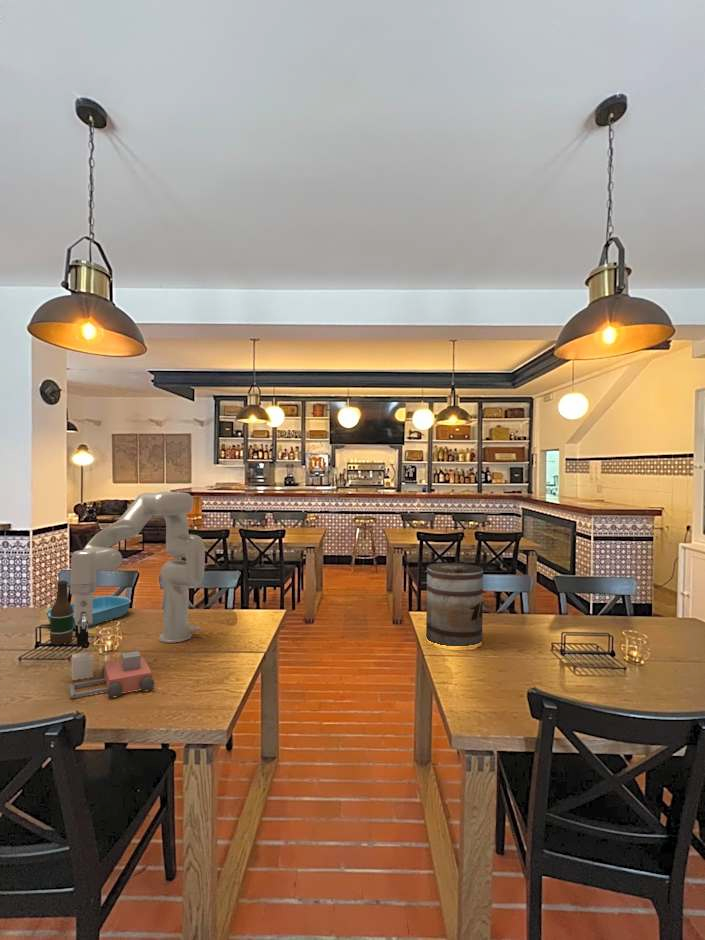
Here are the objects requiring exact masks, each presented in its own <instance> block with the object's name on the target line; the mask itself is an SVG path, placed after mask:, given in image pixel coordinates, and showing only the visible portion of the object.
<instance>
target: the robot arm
mask: <svg viewBox="0 0 705 940" xmlns="http://www.w3.org/2000/svg"><path fill="white" fill-rule="evenodd" d="M194 504H195V501H194V498H193V496H192V495H191V494H190V493H188V492H182V491H160V492H143V493H141V494H139V495H137V497H136V498H135V499H134V500H133V502H132V503H131V504H130V505H129V506H128V508H127V509H126V510H125V512H124V513H123V514H122V515H121V517H119V519H117V520H116V521H115V522H113V523H111V524H109V525H107V526H106V527H105V528H103V529H102V530H100V531H98V532H97V533H96V534H95V535H94V536H93V537H92V538H91V539H90V540H89V541H88V542H87V544H86V545H85V546H84V547H83V549H82V550H76V551H75V550H74V552H72V553H71V558H70V559H71V562H70V587H69V593H70V595H73V603H74V618H75V624H76V625H75V630H74V631H75V632H74V633H75V634H74V636H75V638H76V645H77V646H85V645H88V644H89V627H88V623H90V624H92V611H93V598H94V596H93V594H95V593H96V592H97V591H96V590H97V572H98V571H111V570H115V569H117V568H118V567H119V566H120V565H121V563H122V560H123V556H122V553H121V552H120V551H119V550H117V549H116V548H112V546H113V545H115V544H116V543H119V542H122V541H125V540H128V539H131V538H133V537H136V536H137V535H139V534H140V532H141V531H142V529H143V528H144V527H145V526H146V525H147V523H148V522H149V520H151V518H153V516H155V517H157V516H158V517H163V518H164V520H165V525H166V526H165V527H166V529H165V531H166V534H165V550H166V553H167V555H168V556H171V557H174V558H182V559H185V560H181V559H180V560H179V559H172V560H168V561H167V562H165V563H164V564H163V565H162V567H161V571H160V573H161V574H160V575H161V580H162V586H163V606H162V607H163V615H162V616H163V617H162V618H163V619H162V621H163V622H162V624H163V625H162V633H161V634H159V636H158V640H159V641H160V642H161V643H166V644H167V643H169V644H175V643H176V642H177V643H182V641H183V642H186V641H188V640H190V639H191V638H192V636H193V635H192V633H193V632H200V631H201V626H195V625H193V626H192V625H190V626H189V591H188V587H196V586H199V585H200V584H201V583H202V582H203V579H204V577H205V567H206V566H205V565H206V563H205V561H206V559H205V558H206V546H205V542H204V540H203V538H202V537H201V536H199V535H197V534H189V521H188V520H189V519H188V517H187V514H189V513H191V511H192V509H193V508H194ZM187 586H188V587H187ZM187 639H188V640H187ZM185 640H186V641H185Z"/></svg>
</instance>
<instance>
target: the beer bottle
mask: <svg viewBox="0 0 705 940" xmlns="http://www.w3.org/2000/svg"><path fill="white" fill-rule="evenodd" d="M56 585H57V588H56V589H57V590H56V599H55V602H54V604H53V605H52V607H51V608H50V609H51V615H50V622H49V641H50V642H51V643H52V644H64V643H68V642H70V641H71V642H72V641H73V636H74V634H73V631H74V630H73V608H72V606H71V603H70V601H69V597H68V581H67V580H59V581H57V582H56ZM50 642H49V643H50ZM71 642H70V643H71ZM51 643H50V644H51ZM52 644H51V645H52ZM68 644H69V643H68ZM64 645H65V644H64Z"/></svg>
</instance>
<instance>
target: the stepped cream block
mask: <svg viewBox="0 0 705 940" xmlns="http://www.w3.org/2000/svg"><path fill="white" fill-rule="evenodd" d="M90 677H92V678H94V655H93V654H88V651H87V652H80V653H72V654H71V681H72V680H75V681H79V680H78V679H81V680H85V679H84V678H86V679H91V678H90Z"/></svg>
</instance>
